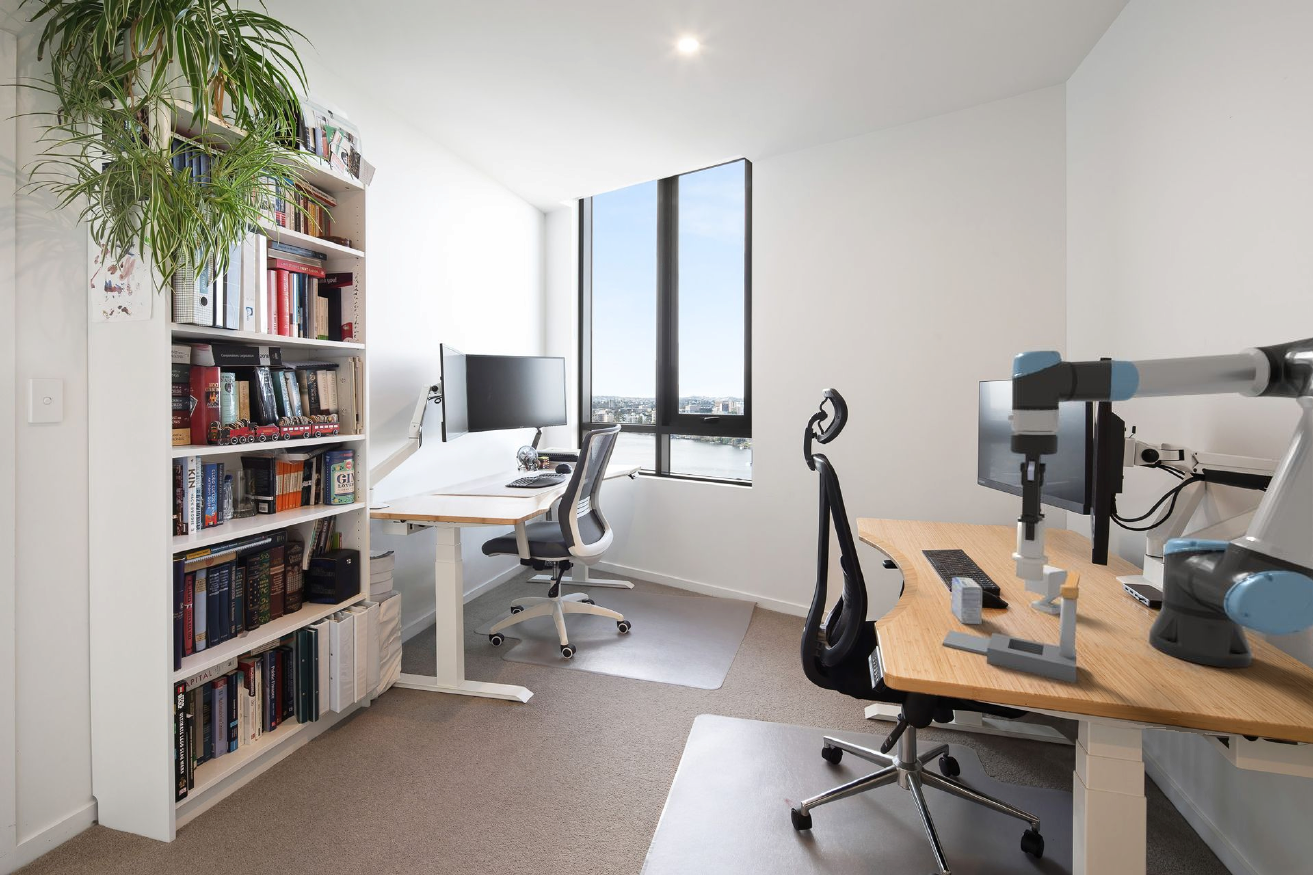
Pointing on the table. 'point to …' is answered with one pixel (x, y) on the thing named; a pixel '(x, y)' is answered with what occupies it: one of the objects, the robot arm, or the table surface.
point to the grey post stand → (1040, 650)
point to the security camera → (1048, 589)
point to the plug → (1029, 565)
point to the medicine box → (966, 600)
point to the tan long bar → (1070, 586)
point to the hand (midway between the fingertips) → (1030, 553)
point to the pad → (966, 642)
